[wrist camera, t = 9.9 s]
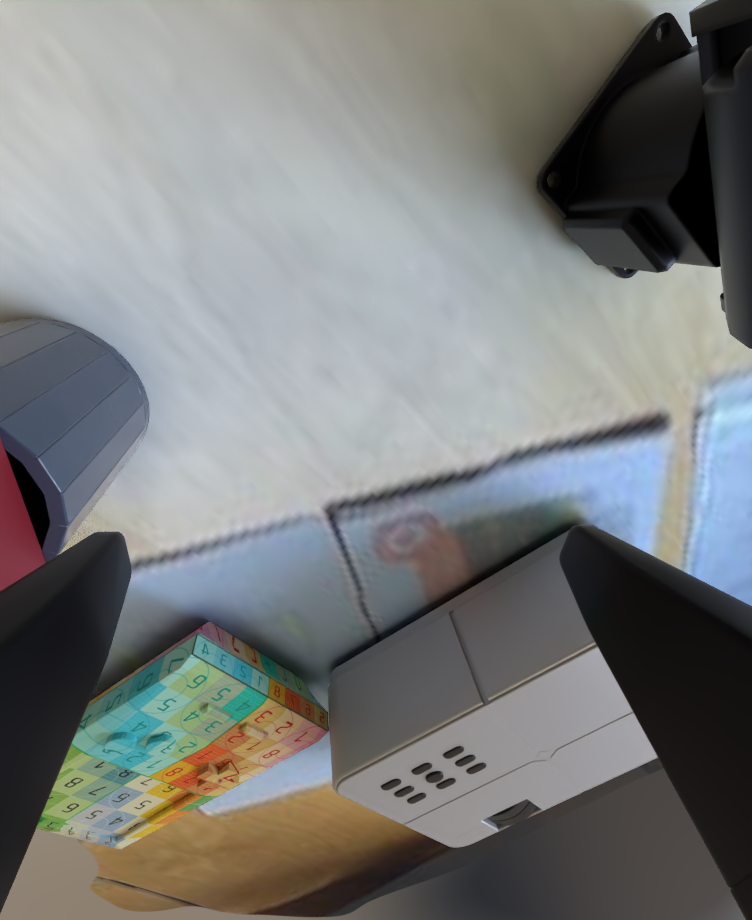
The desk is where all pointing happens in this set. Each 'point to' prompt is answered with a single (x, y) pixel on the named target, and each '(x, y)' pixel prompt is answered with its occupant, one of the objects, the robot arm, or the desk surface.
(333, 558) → the desk surface
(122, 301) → the desk surface
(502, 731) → the projector
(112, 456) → the mug
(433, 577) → the desk surface
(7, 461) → the red rectangular block
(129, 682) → the puzzle game
